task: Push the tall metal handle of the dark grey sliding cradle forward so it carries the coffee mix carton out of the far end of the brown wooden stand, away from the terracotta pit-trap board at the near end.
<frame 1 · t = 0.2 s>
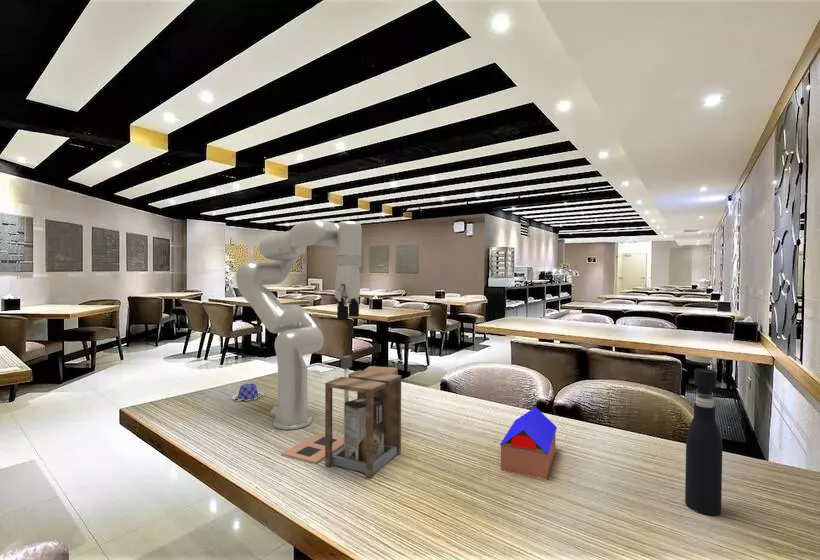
hand: (348, 317, 125), 37 cm above the table, tool pointing down, fingers open, 9 cm apart
wooden block: (378, 433, 129), on the table
house: (529, 460, 111), on the table
brown wooden stand: (364, 459, 110), on the table
coffee box: (364, 460, 110), resting in cradle
wine bottle: (702, 508, 89), on the table
purple checkered hat: (248, 398, 165), on the table
cradle: (364, 408, 110), point 14 cm above the table, slide at 0.0 cm
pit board: (317, 448, 117), on the table
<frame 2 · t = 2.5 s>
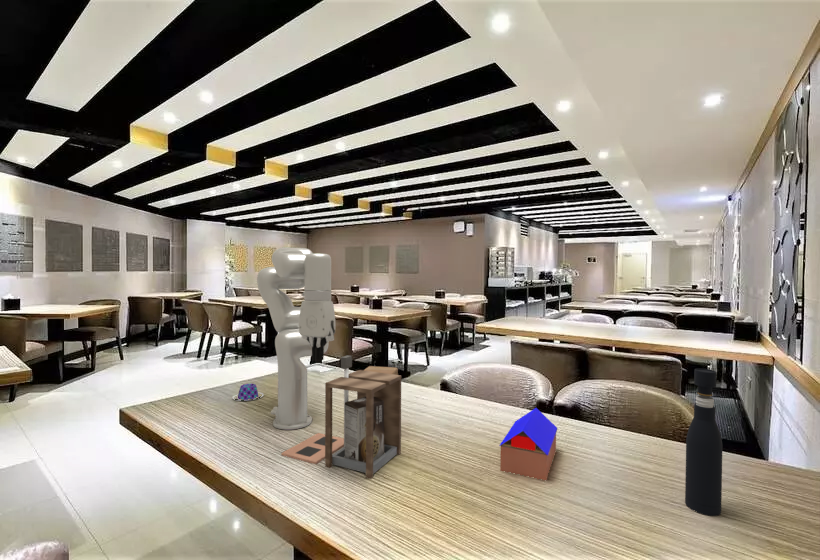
hand: (317, 360, 117), 25 cm above the table, tool pointing down, fingers closed
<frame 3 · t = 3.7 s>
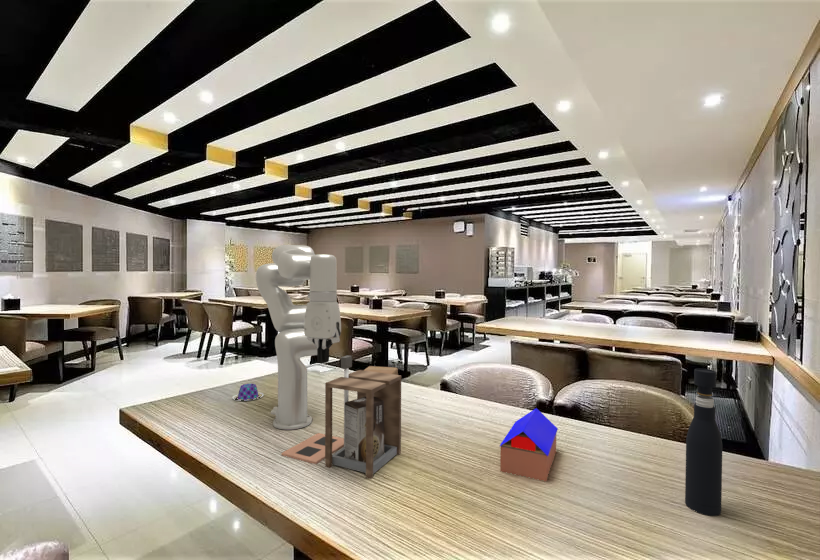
hand: (323, 362, 116), 25 cm above the table, tool pointing down, fingers closed
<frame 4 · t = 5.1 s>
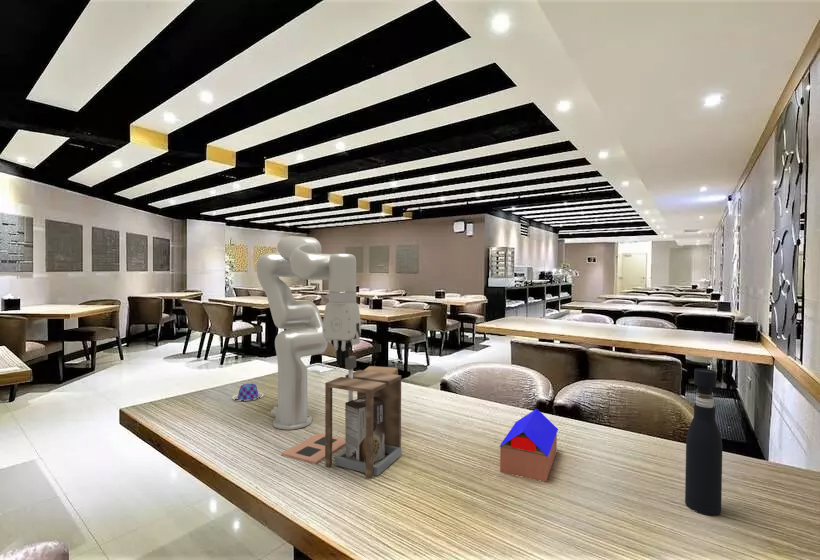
hand: (342, 364, 113), 25 cm above the table, tool pointing down, fingers closed
cradle: (368, 409, 109), point 14 cm above the table, slide at 1.5 cm, touching gripper
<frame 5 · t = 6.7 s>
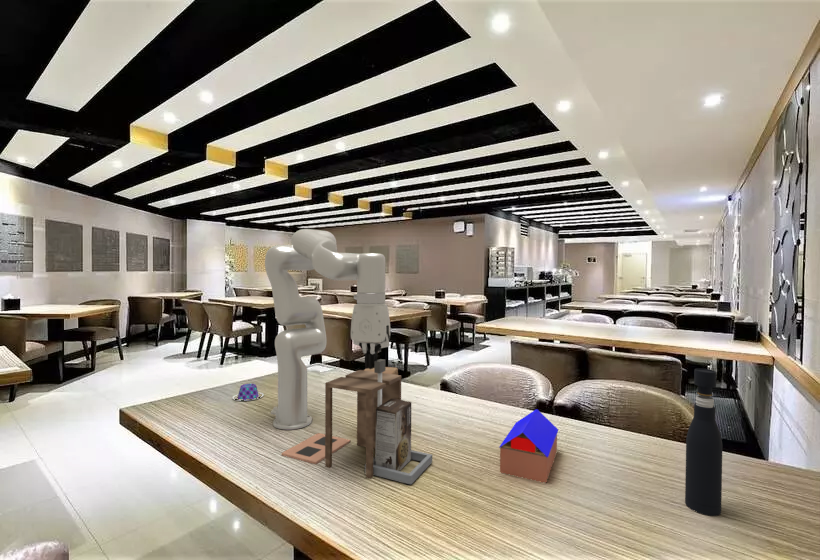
hand: (370, 367, 109), 25 cm above the table, tool pointing down, fingers closed
coffee box: (393, 465, 107), resting in cradle
cradle: (399, 414, 105), point 14 cm above the table, slide at 10.7 cm, touching coffee box, gripper
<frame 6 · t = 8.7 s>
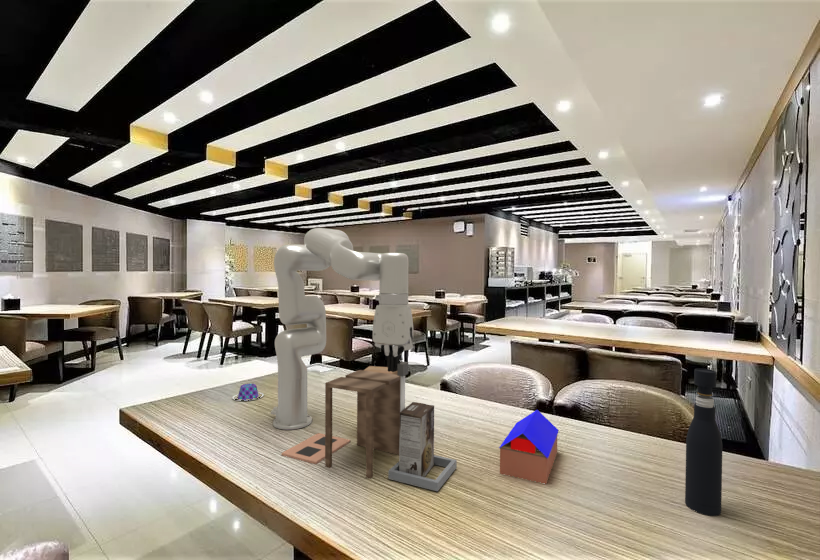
hand: (393, 370, 106), 25 cm above the table, tool pointing down, fingers closed
coffee box: (416, 471, 104), resting in cradle
cradle: (423, 419, 102), point 14 cm above the table, slide at 17.5 cm, touching coffee box, gripper
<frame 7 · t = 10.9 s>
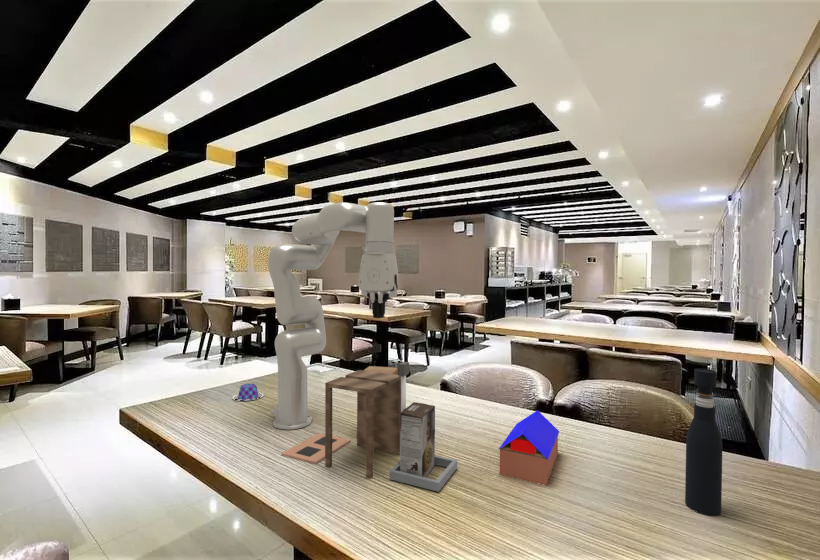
hand: (378, 317, 110), 39 cm above the table, tool pointing down, fingers closed
cradle: (424, 419, 102), point 14 cm above the table, slide at 17.8 cm, touching coffee box
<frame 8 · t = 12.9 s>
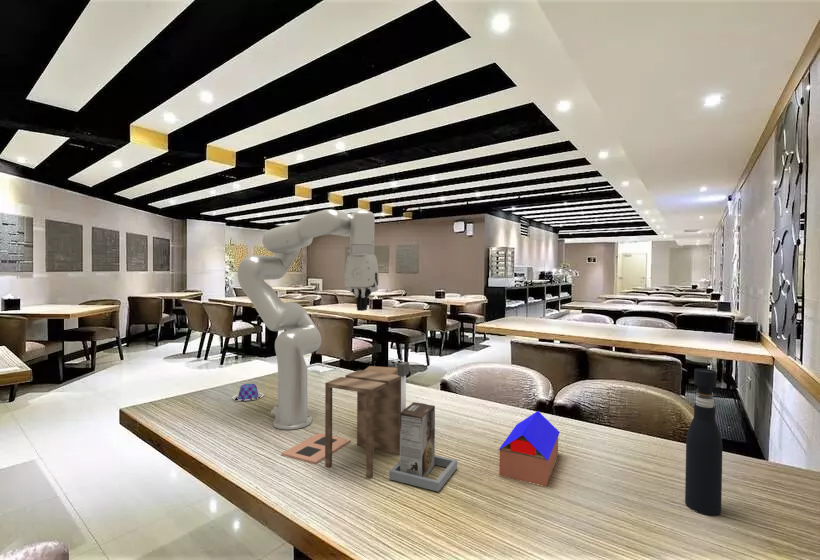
hand: (361, 310, 127), 39 cm above the table, tool pointing down, fingers closed
at the end: cradle slide at 17.7 cm; coffee box inside the target area (1.7 cm from its centre), resting in cradle; coffee box tilted 0° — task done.
